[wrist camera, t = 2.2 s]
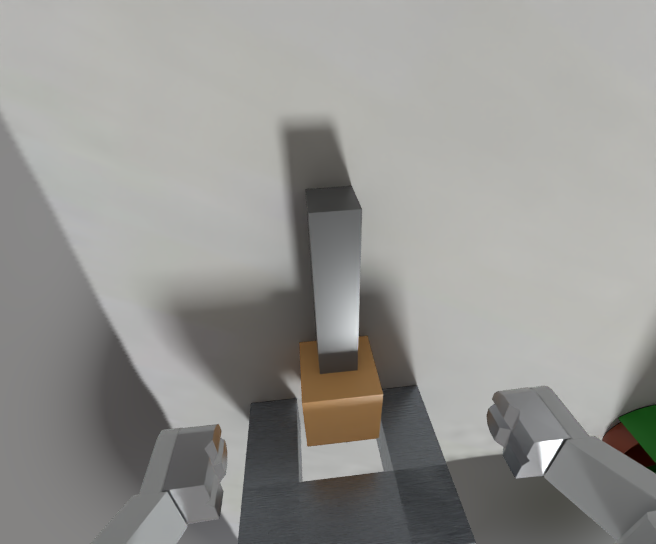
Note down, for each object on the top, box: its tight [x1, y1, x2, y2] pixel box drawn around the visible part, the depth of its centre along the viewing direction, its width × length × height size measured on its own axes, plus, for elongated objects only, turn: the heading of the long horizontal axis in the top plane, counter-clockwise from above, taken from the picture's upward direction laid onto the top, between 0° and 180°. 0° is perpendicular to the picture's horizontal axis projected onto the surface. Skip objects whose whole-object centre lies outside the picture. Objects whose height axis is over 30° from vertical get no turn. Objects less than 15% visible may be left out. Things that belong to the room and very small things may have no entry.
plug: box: [299, 186, 383, 446], centre depth 21 cm, size 16×5×5 cm, turn 2°
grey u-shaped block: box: [238, 386, 476, 544], centre depth 25 cm, size 4×14×11 cm, turn 92°
